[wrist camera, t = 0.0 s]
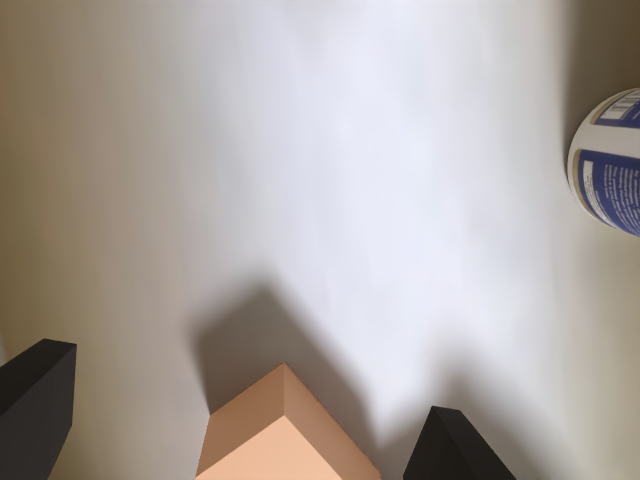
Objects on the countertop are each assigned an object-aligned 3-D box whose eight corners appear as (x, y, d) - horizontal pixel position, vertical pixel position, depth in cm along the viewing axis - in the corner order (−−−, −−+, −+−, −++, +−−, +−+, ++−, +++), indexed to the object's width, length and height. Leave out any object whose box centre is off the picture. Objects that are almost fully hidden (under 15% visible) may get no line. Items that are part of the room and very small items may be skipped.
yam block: (308, 516, 24) (313, 594, 20) (210, 413, 23) (195, 477, 19) (378, 468, 24) (397, 540, 20) (284, 360, 22) (284, 415, 18)
